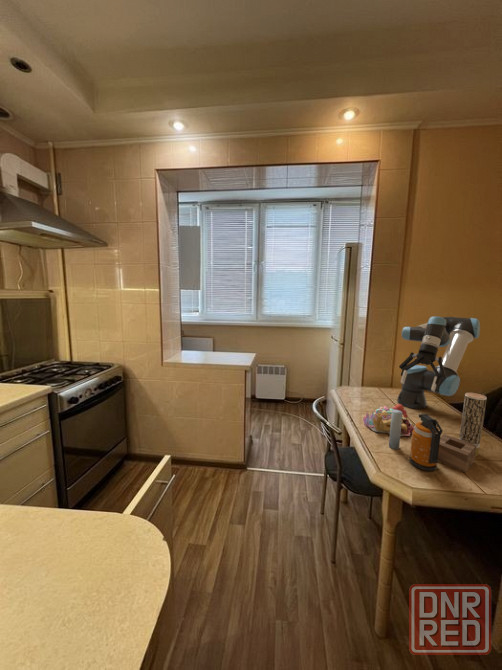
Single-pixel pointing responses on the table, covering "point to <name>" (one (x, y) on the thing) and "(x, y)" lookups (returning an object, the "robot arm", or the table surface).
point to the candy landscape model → (388, 420)
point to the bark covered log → (473, 419)
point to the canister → (425, 443)
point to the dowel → (395, 429)
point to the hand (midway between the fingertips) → (416, 386)
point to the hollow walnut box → (456, 452)
